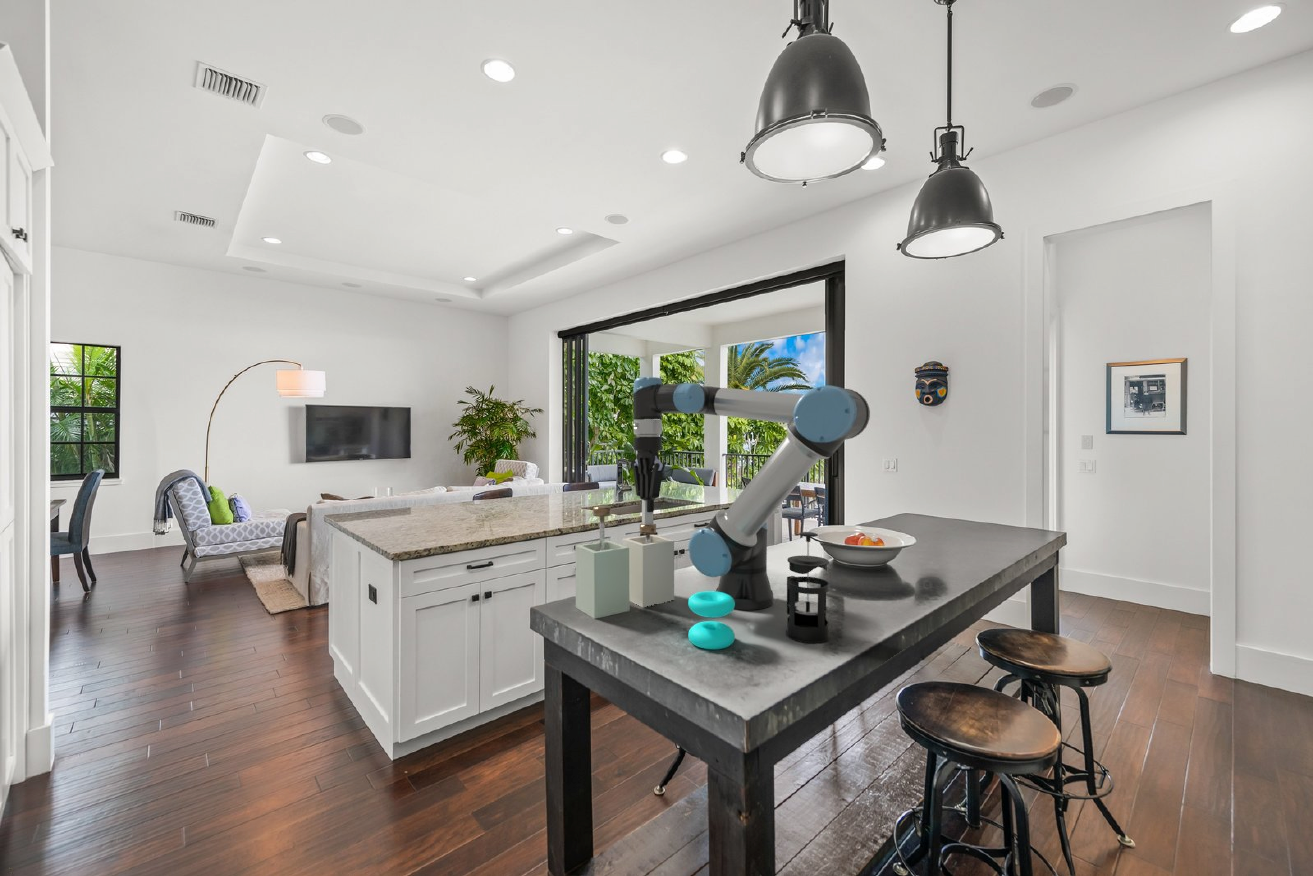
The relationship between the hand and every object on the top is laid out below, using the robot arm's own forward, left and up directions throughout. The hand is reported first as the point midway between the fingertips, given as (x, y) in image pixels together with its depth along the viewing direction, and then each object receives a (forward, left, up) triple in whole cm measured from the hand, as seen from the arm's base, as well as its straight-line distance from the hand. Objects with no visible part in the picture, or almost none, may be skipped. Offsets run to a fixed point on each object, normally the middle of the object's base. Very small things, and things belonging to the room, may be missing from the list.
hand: (647, 523), depth 148 cm
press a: (0, 0, -20) cm, 20 cm away
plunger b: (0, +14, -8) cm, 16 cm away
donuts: (-32, +5, -21) cm, 38 cm away
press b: (0, +14, -20) cm, 25 cm away
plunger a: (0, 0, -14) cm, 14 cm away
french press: (-41, -15, -21) cm, 48 cm away
